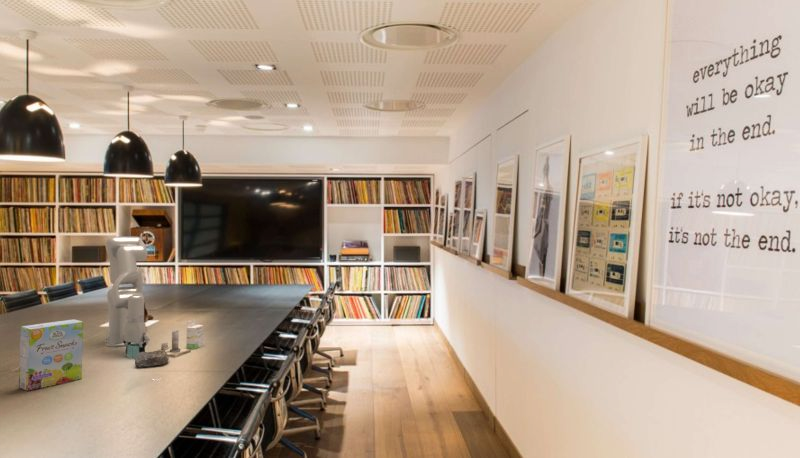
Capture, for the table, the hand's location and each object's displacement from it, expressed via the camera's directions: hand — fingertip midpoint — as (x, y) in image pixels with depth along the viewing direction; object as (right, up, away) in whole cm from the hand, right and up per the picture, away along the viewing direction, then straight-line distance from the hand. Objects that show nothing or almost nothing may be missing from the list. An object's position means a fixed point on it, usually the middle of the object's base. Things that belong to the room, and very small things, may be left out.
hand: (135, 353), depth 272 cm
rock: (+15, -2, -13) cm, 20 cm away
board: (+14, -1, +8) cm, 16 cm away
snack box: (-13, -2, -45) cm, 47 cm away
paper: (+26, -3, -42) cm, 49 cm away
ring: (0, -1, 0) cm, 1 cm away
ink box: (+22, -2, +21) cm, 31 cm away
